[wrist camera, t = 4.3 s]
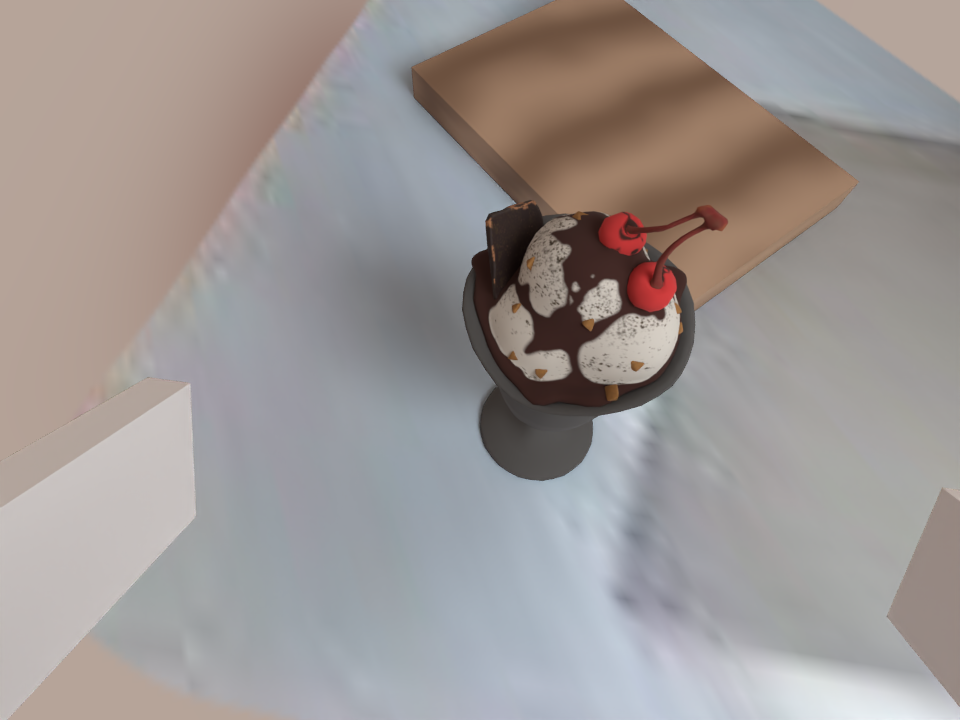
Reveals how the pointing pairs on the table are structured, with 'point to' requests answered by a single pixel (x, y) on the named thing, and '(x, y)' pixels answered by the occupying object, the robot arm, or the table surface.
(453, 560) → the table surface
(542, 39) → the brown flat wooden slab
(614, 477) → the table surface
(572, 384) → the sundae
